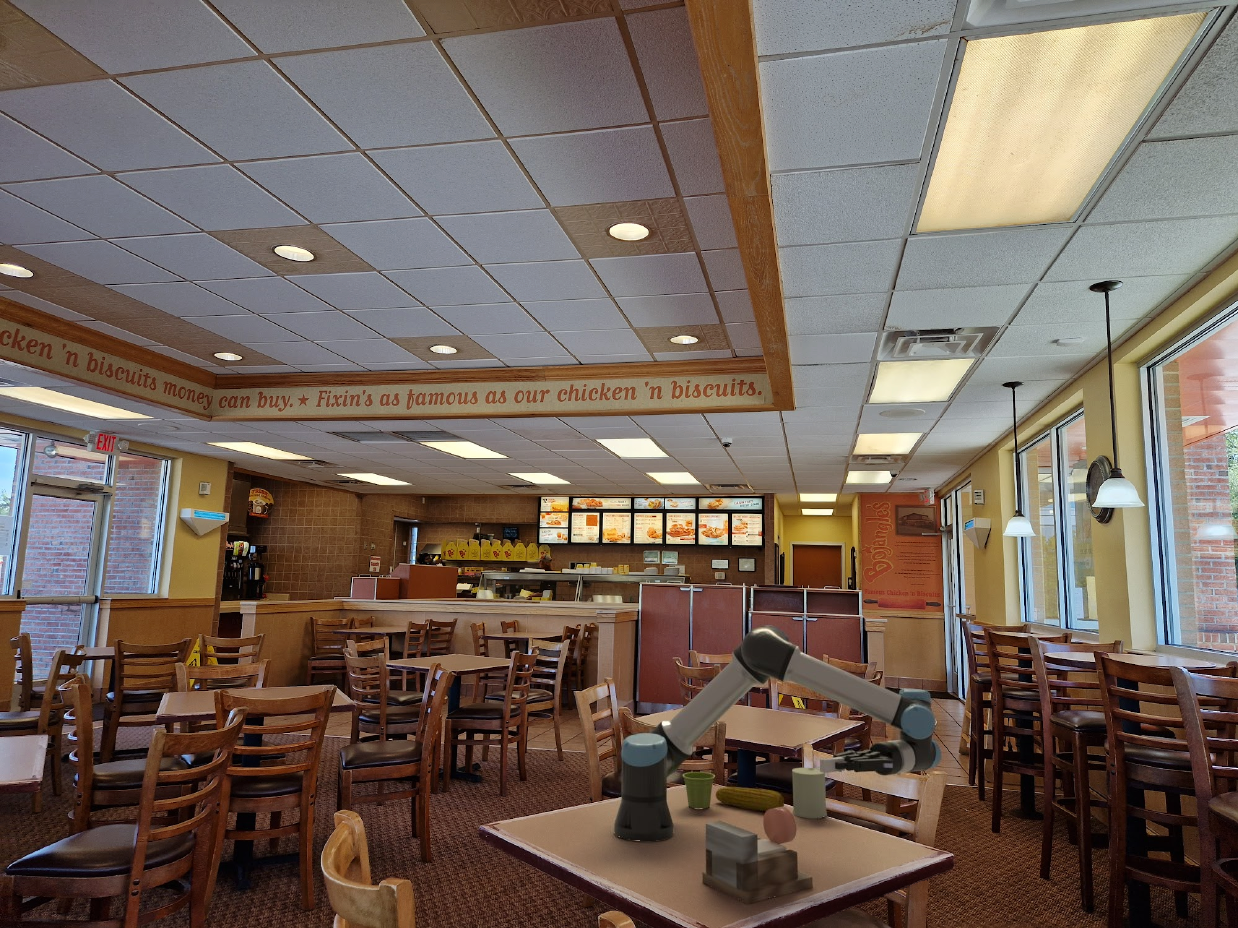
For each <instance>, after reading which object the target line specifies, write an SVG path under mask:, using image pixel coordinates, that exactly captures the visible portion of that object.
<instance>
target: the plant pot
mask: <svg viewBox="0 0 1238 928" xmlns="http://www.w3.org/2000/svg"><path fill="white" fill-rule="evenodd" d="M715 777H716V775H715V774H713V773H710V772H702V771H693V772H692V771H691V772H686V773H682V778H683V779H684V780H683V781H684V783H685V788H686V789H685V790H686V796H687V797H686V798H687V805H688V807H689V806H690V807H689V808H692V809H693V808H704V809H709V808H710V807H711V798H712V789H713V783H714V779H715ZM708 807H709V808H708Z"/></svg>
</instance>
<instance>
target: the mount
mask: <svg viewBox="0 0 1238 928" xmlns="http://www.w3.org/2000/svg"><path fill="white" fill-rule="evenodd" d="M760 839H762V838H761V837H758V834H757V833H754V832H752V831H749V830H747V829H744V828H741V827H739V826H736V825H732V824H730V823H727V822H726V821H722V820H717V821H716V820H715V821H711V822H706V823H705V871H703V872H702V873H701V875H702V882H701V883H703V884H704V883H705V885H706V884H707V885H706V886H708V885H709V886H708V887H711V886H712V887H711V888H713V889H715V888H716V889H715V890H717V889H718V890H717V891H719V890H720V891H719V892H721V891H722V892H721V893H723V892H724V893H723V894H725V893H726V894H725V895H727V894H728V895H727V896H729V895H730V896H729V897H731V896H732V897H731V898H733V897H735V898H736V900H738V899H739V900H738V901H740V902H742V901H743V902H742V903H744V902H745V903H744V904H746V905H750V904H749V903H751V904H753V903H752V902H755V903H757V902H756V901H758V902H762V901H765V900H764V899H766V900H768V899H767V898H769V897H774V896H778V897H780V896H784V895H789V894H793V893H796V892H800V891H803V890H808V889H812V888H814V886H813V885H814V883H813V880H814V879H813V876H812V875H809V874H806V873H804V872H801V871H798V870H799V869H798V865H799V864H798V863H799V862H798V851H795V850H793V849H786V851H781V852H776V853H772V854H767V855H763V856H758V840H760ZM792 892H793V893H792ZM735 898H734V899H735ZM774 898H775V897H774ZM761 900H762V901H761Z"/></svg>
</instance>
